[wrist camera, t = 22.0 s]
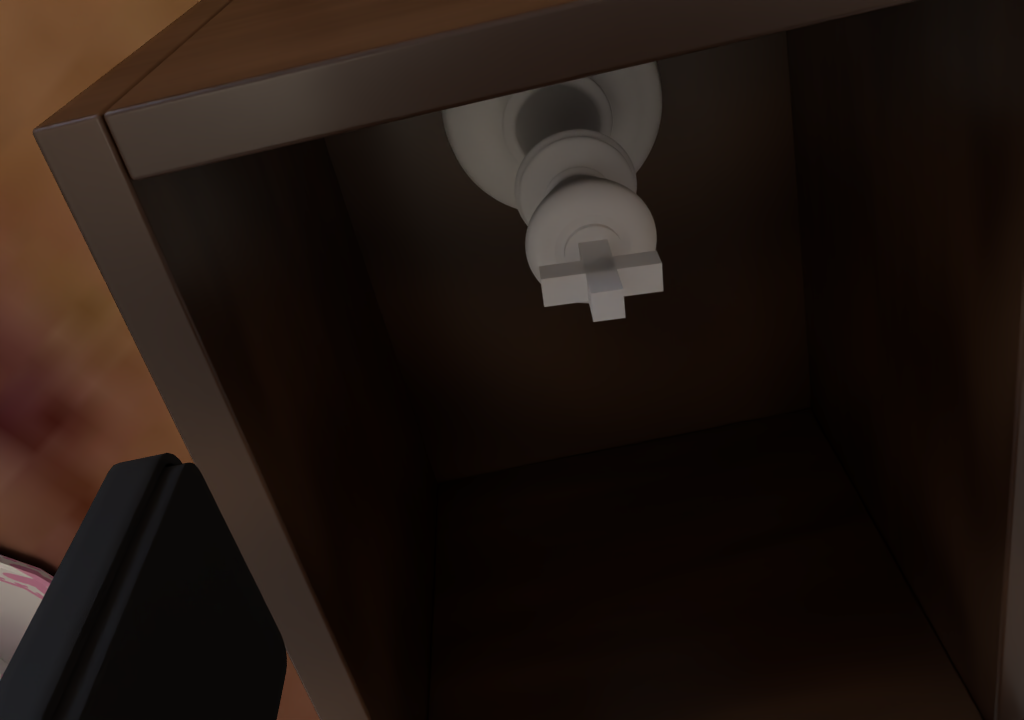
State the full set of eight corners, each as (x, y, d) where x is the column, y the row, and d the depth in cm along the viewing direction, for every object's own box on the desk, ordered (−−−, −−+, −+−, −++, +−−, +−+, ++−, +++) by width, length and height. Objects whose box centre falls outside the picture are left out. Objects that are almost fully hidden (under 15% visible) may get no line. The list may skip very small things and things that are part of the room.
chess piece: (423, 4, 20) (391, 153, 12) (655, -29, 20) (796, 97, 11) (459, 219, 23) (455, 475, 14) (665, 192, 23) (788, 432, 14)
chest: (237, -29, 21) (27, 130, 11) (802, -169, 20) (1134, -132, 10) (417, 492, 28) (390, 865, 18) (833, 409, 27) (1039, 755, 17)
